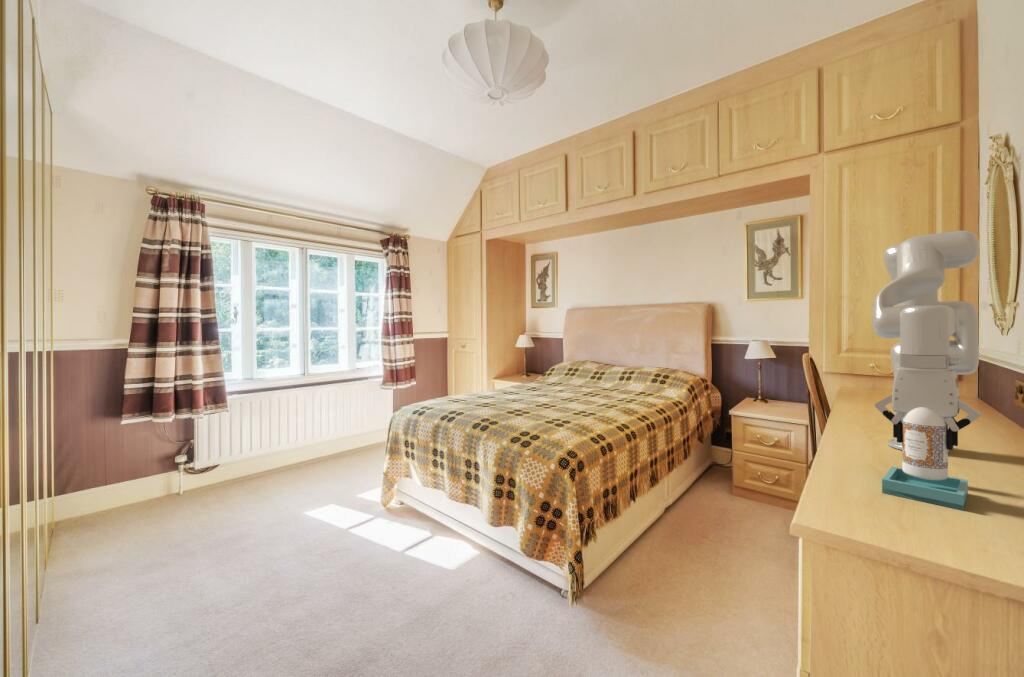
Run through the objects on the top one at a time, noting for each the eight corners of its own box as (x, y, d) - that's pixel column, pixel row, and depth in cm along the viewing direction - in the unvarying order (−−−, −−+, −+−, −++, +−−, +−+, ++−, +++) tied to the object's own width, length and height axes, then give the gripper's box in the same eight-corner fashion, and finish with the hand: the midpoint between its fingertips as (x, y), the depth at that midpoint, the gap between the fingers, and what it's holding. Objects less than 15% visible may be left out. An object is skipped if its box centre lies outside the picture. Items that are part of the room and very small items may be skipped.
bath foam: (894, 472, 91) (894, 382, 90) (915, 468, 93) (915, 380, 92) (934, 483, 84) (934, 386, 84) (955, 478, 86) (955, 384, 86)
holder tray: (892, 478, 97) (892, 466, 97) (967, 493, 88) (967, 480, 88) (882, 492, 89) (882, 479, 89) (963, 510, 80) (963, 495, 80)
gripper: (986, 363, 84) (986, 449, 84) (874, 360, 97) (874, 434, 97) (985, 366, 79) (985, 457, 79) (867, 362, 92) (868, 440, 93)
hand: (924, 444), depth 88 cm, fingers closed on bath foam, 7 cm apart
